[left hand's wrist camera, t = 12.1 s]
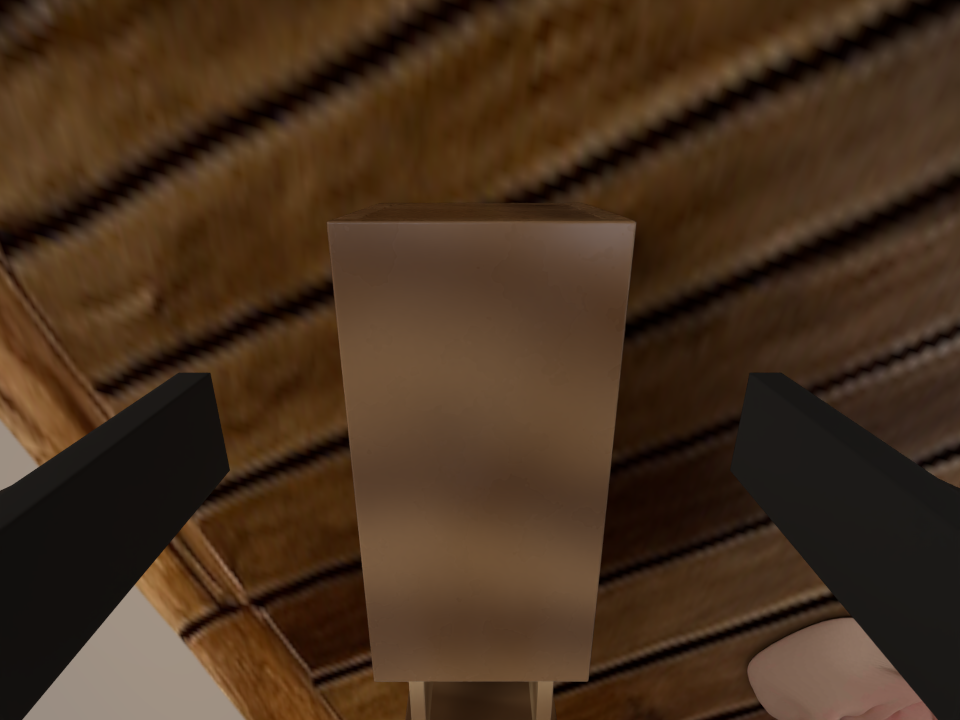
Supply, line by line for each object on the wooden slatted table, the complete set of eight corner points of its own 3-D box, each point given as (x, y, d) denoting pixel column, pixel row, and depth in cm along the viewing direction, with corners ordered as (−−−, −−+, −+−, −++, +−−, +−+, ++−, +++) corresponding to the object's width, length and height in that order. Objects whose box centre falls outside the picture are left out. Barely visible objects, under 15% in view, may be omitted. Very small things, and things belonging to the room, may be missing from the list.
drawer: (542, 713, 38) (557, 839, 31) (418, 713, 38) (404, 839, 31) (562, 397, 29) (589, 472, 21) (399, 397, 29) (372, 472, 21)
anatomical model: (745, 739, 34) (885, 635, 31) (718, 682, 38) (841, 584, 34) (874, 812, 37) (1016, 723, 33) (838, 753, 40) (962, 668, 37)
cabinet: (559, 545, 33) (588, 682, 25) (401, 546, 33) (373, 682, 25) (583, 202, 26) (637, 220, 17) (378, 203, 26) (325, 221, 17)
